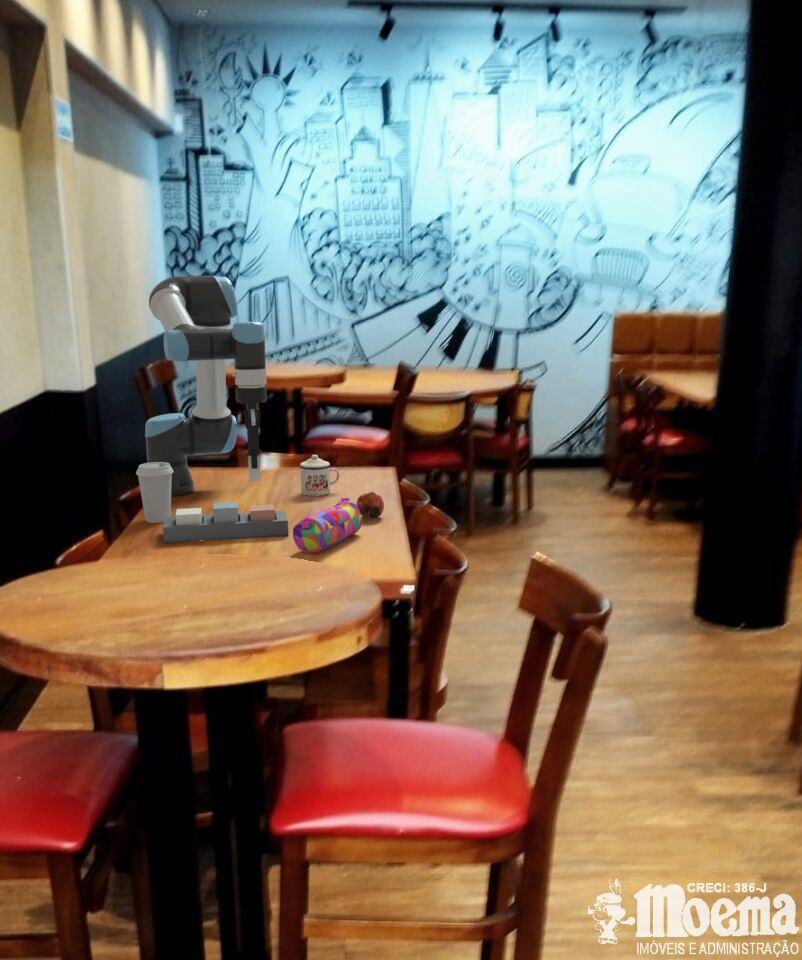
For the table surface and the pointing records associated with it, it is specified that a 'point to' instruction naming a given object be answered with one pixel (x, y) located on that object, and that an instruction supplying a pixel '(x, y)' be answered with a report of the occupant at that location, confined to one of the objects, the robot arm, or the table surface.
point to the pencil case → (327, 526)
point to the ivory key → (188, 516)
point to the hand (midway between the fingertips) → (254, 480)
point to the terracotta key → (262, 512)
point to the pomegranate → (370, 505)
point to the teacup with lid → (316, 476)
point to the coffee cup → (155, 490)
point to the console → (225, 529)
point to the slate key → (225, 512)
